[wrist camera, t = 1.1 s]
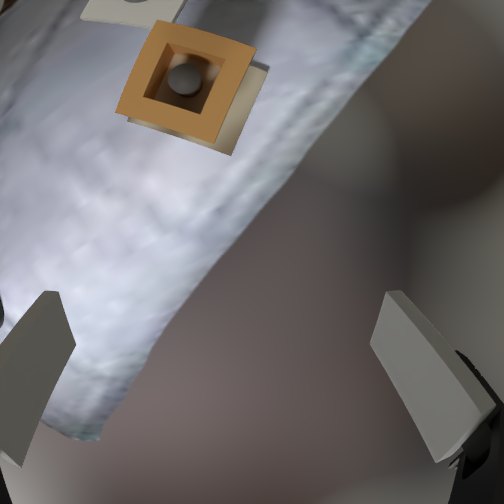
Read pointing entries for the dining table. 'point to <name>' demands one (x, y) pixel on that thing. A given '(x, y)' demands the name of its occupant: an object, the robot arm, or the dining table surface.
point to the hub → (133, 11)
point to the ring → (154, 69)
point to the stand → (196, 93)
